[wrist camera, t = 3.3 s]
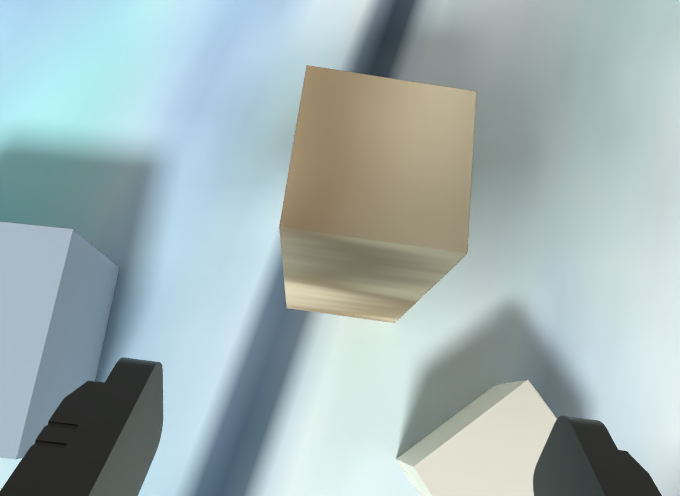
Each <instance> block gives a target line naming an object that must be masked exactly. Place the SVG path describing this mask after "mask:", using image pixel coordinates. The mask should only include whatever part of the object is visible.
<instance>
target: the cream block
mask: <svg viewBox="0 0 680 496" xmlns="http://www.w3.org/2000/svg"><path fill="white" fill-rule="evenodd" d="M556 420H557V418H556V417H555V416H554V414H553V413H552V411H551V410H550V409H549V407H548V406H547V405H546V403H545V402H544V401H543V399H542V398H541V396H540V395H539V394H538V392H537V391H536V390H535V388H534V387H533V386H532V384H531V383H530V382H529V380H523V381H516V382H510V383H504V384H498V385H494V386H493V387H491V388H490V389H489V390H487V391H486V392H485V393H483V394H482V395H481V396H479V397H478V398H477V399H475V400H474V401H473V402H471V403H470V404H469V405H467V406H466V407H465V408H463V409H462V410H461V411H459V412H458V413H457V414H455V415H454V416H453V417H451V418H450V419H449V420H447V421H446V422H445V423H443V424H442V425H441V426H439V427H438V428H437V429H435V430H434V431H433V432H431V433H430V434H429V435H427V436H426V437H425V438H423V439H422V440H421V441H419V442H418V443H417V444H415V445H414V446H413V447H411V448H410V449H409V450H407V451H406V452H405V453H403V454H402V455H401V456H399V457H398V458H397V459H396V460H397V462H398V463H399V465H400V466H401V468H402V469H403V471H404V473H405V474H406V476H407V477H408V479H409V480H410V482H411V483H412V485H413V486H414V488H415V489H416V491H417V492H418V494H419V495H420V496H534V492H533V475H534V470H535V467H536V464H537V462H538V460H539V457H540V455H541V453H542V451H543V448H544V446H545V444H546V442H547V439H548V437H549V435H550V432H551V430H552V428H553V426H554V423H555V422H556Z"/></svg>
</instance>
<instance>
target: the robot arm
mask: <svg viewBox="0 0 680 496" xmlns="http://www.w3.org/2000/svg"><path fill="white" fill-rule="evenodd" d="M162 426H163V370H162V364H161V363H160V362H154V361H146V360H138V359H131V358H121V359H120V360H119V361H118V362H117V363H116V365H115V367H114V368H113V370H112V372H111V373H110V375H109V376H108V378H107V380H106V381H105V383H102V382H94V381H87V382H85V383H84V384H83V385H81V386H80V387H79V388H77V389H76V390H75V391H73V392H72V393H70V394H69V395H68V396H66V397H65V398H64V399H63V400H62V402H61V403H60V405H59V406H58V408H57V409H56V410H55V412H54V413H53V415H52V416H51V418H50V419H49V421H48V425H47V426H45V427H44V428H43V429H42V431H41V432H40V434H39V435H38V437H37V438H36V440H35V444H34V445H32V446H31V447H30V448H29V450H28V451H27V453H26V454H25V456H24V457H23V459H22V460H21V462H20V463H19V464H18V466H17V467H16V469H15V470H14V472H13V473H12V475H11V476H10V478H9V479H8V481H7V482H6V483H5V485H4V486H3V488H2V489H1V491H0V496H138V494H139V491H140V489H141V487H142V484H143V482H144V479H145V477H146V475H147V472H148V470H149V467H150V465H151V463H152V460H153V458H154V455H155V453H156V450H157V448H158V444H159V441H160V437H161V432H162ZM533 492H534V496H662V495H661V494H660V492H659V490H658V489H657V487H656V485H655V483H654V482H653V480H652V478H651V476H650V475H649V473H648V472H647V471H646V470H645V469H644V468H643V467H642V466H641V465H640V464H639V463H638V462H637V461H636V460H635V459H634V458H633V457H632V456H631V455H630V454H629V453H628V452H627V451H622V450H618V449H617V447H616V445H615V443H614V441H613V440H612V438H611V436H610V434H609V432H608V430H607V428H606V427H605V425H604V424H603V423H602V422H600V421H597V420H589V419H582V418H574V417H566V416H561V417H559V418H558V419H557V420H556V422H555V423H554V426H553V428H552V430H551V432H550V435H549V437H548V439H547V442H546V444H545V446H544V448H543V451H542V453H541V455H540V457H539V460H538V462H537V464H536V467H535V470H534V475H533Z"/></svg>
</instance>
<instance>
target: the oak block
mask: <svg viewBox="0 0 680 496" xmlns="http://www.w3.org/2000/svg"><path fill="white" fill-rule="evenodd" d="M475 106H476V91H470V90H463V89H457V88H450V87H444V86H437V85H431V84H424V83H418V82H411V81H405V80H398V79H392V78H385V77H379V76H372V75H366V74H359V73H353V72H347V71H340V70H334V69H327V68H321V67H314V66H308V65H307V66H306V72H305V78H304V84H303V90H302V96H301V102H300V108H299V114H298V119H297V125H296V131H295V137H294V143H293V149H292V155H291V161H290V167H289V173H288V179H287V184H286V190H285V196H284V202H283V208H282V214H281V220H280V226H279V228H280V239H281V250H282V261H283V272H284V282H285V293H286V304H287V308H291V309H298V310H306V311H313V312H320V313H327V314H335V315H342V316H349V317H356V318H364V319H371V320H378V321H385V322H393V323H395V322H396V321H397V320H398V319H399V318H400V317H401V316H402V315H404V314H405V313H406V312H407V311H408V310H409V309H410V308H411V307H412V306H413V305H414V304H415V303H416V302H417V301H418V300H419V299H420V298H421V297H422V296H423V295H425V294H426V293H427V292H428V291H429V290H430V289H431V288H432V287H433V286H434V285H435V284H436V283H437V282H438V281H439V280H440V279H441V278H442V277H443V276H444V275H446V274H447V273H448V272H449V271H450V270H451V269H452V268H453V267H454V266H455V265H456V264H457V263H458V262H459V261H460V260H461V259H462V258H463V257H464V256H465V255H466V254H467V251H468V233H469V215H470V197H471V178H472V160H473V142H474V124H475Z"/></svg>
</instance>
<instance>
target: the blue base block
mask: <svg viewBox="0 0 680 496" xmlns="http://www.w3.org/2000/svg"><path fill="white" fill-rule="evenodd" d="M119 269H120V268H119V267H118V266H117V265H116V264H114V263H113V262H112V261H111V260H110V259H108V258H107V257H106V256H105V255H104V254H102V253H101V252H100V251H99V250H98V249H96V248H95V247H94V246H93V245H92V244H90V243H89V242H88V241H87V240H86V239H84V238H83V237H82V236H81V235H80V234H78V233H77V232H76V231H75V230H74V229H67V228H57V227H48V226H38V225H28V224H19V223H9V222H0V458H11V459H19V458H23V457H24V456H25V454H26V453H27V451H28V450H29V448H30V447H31V446H32V445H34V444H35V440H36V438H37V437H38V435H39V434H40V432H41V431H42V429H43V428H44V427H45V426H47V425H48V421H49V419H50V418H51V416H52V415H53V413H54V412H55V410H56V409H57V408H58V406H59V405H60V403H61V402H62V400H63V399H64V398H65V397H66V396H68V395H69V394H70V393H72V392H73V391H75V390H76V389H77V388H79V387H80V386H81V385H83V384H84V383H85V382H87V381H94V382H95V380H96V375H97V371H98V366H99V362H100V357H101V352H102V348H103V343H104V338H105V334H106V329H107V324H108V320H109V315H110V311H111V306H112V301H113V297H114V292H115V287H116V283H117V278H118V273H119Z"/></svg>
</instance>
